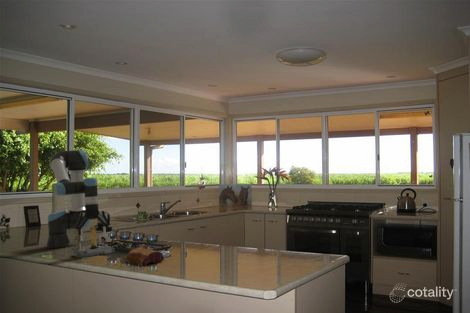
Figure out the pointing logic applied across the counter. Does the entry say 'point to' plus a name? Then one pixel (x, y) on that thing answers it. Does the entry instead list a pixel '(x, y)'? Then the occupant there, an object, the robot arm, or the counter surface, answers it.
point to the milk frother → (103, 220)
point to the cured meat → (143, 256)
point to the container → (107, 239)
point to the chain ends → (94, 251)
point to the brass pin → (93, 237)
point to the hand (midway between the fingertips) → (93, 239)
